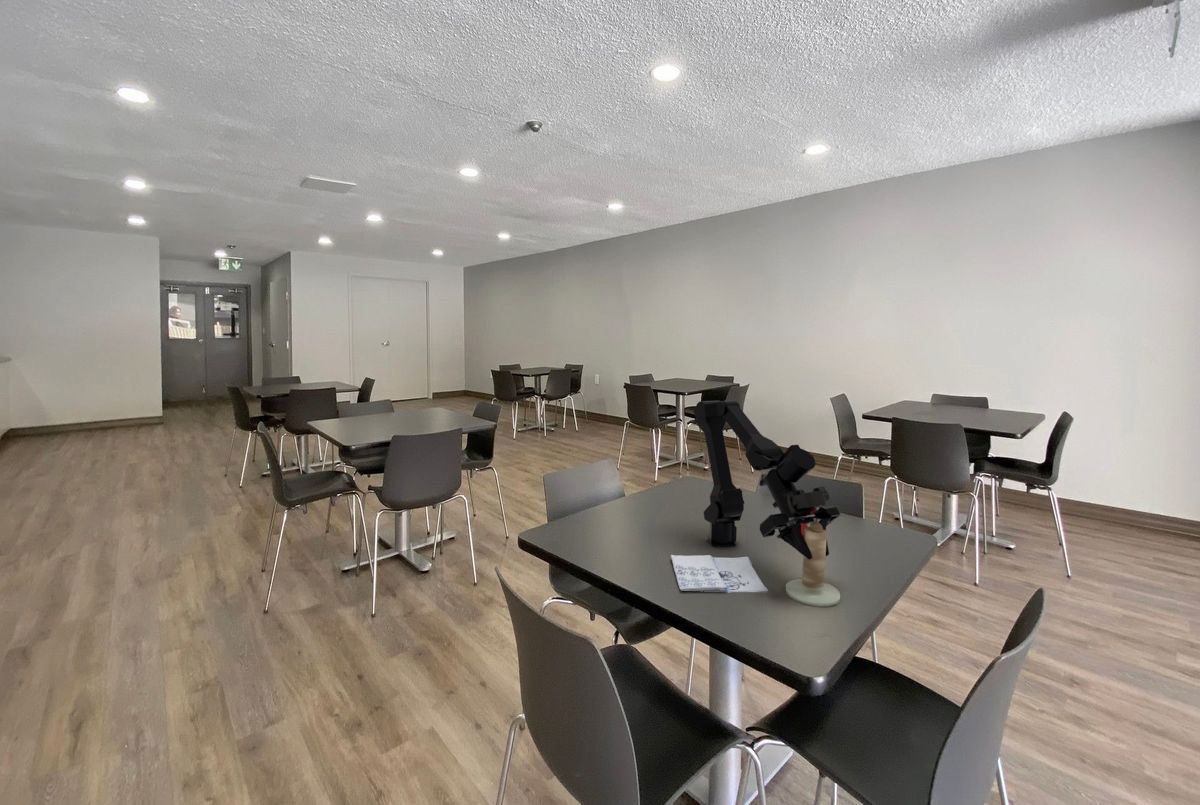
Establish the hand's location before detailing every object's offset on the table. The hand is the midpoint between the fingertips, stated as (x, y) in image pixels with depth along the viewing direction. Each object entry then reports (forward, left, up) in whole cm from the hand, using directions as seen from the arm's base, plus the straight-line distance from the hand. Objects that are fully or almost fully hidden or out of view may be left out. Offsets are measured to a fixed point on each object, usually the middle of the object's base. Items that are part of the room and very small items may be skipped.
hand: (819, 557), depth 115 cm
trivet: (-1, +1, -9) cm, 9 cm away
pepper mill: (-1, +1, -7) cm, 7 cm away
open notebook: (-20, +10, -10) cm, 24 cm away
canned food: (+9, +39, -9) cm, 41 cm away
